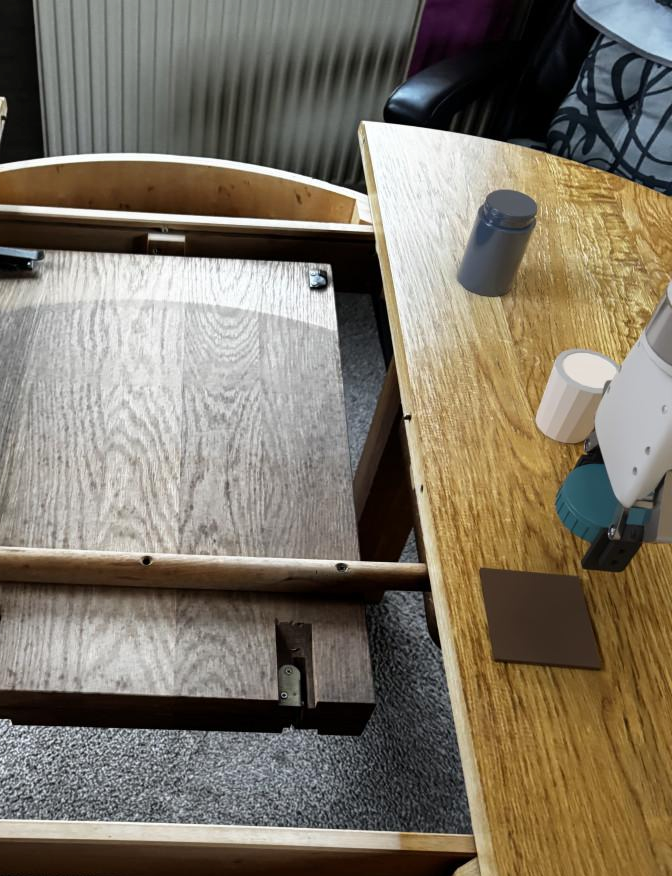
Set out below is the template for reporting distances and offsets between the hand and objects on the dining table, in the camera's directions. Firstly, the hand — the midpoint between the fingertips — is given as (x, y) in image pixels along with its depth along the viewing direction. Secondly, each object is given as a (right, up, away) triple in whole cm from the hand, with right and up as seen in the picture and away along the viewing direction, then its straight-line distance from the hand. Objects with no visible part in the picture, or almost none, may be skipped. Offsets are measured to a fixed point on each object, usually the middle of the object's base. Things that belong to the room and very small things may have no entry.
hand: (591, 529), depth 71 cm
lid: (0, +2, -3) cm, 3 cm away
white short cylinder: (+8, +14, +25) cm, 29 cm away
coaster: (-1, -7, +9) cm, 12 cm away
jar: (+4, +34, +39) cm, 52 cm away
